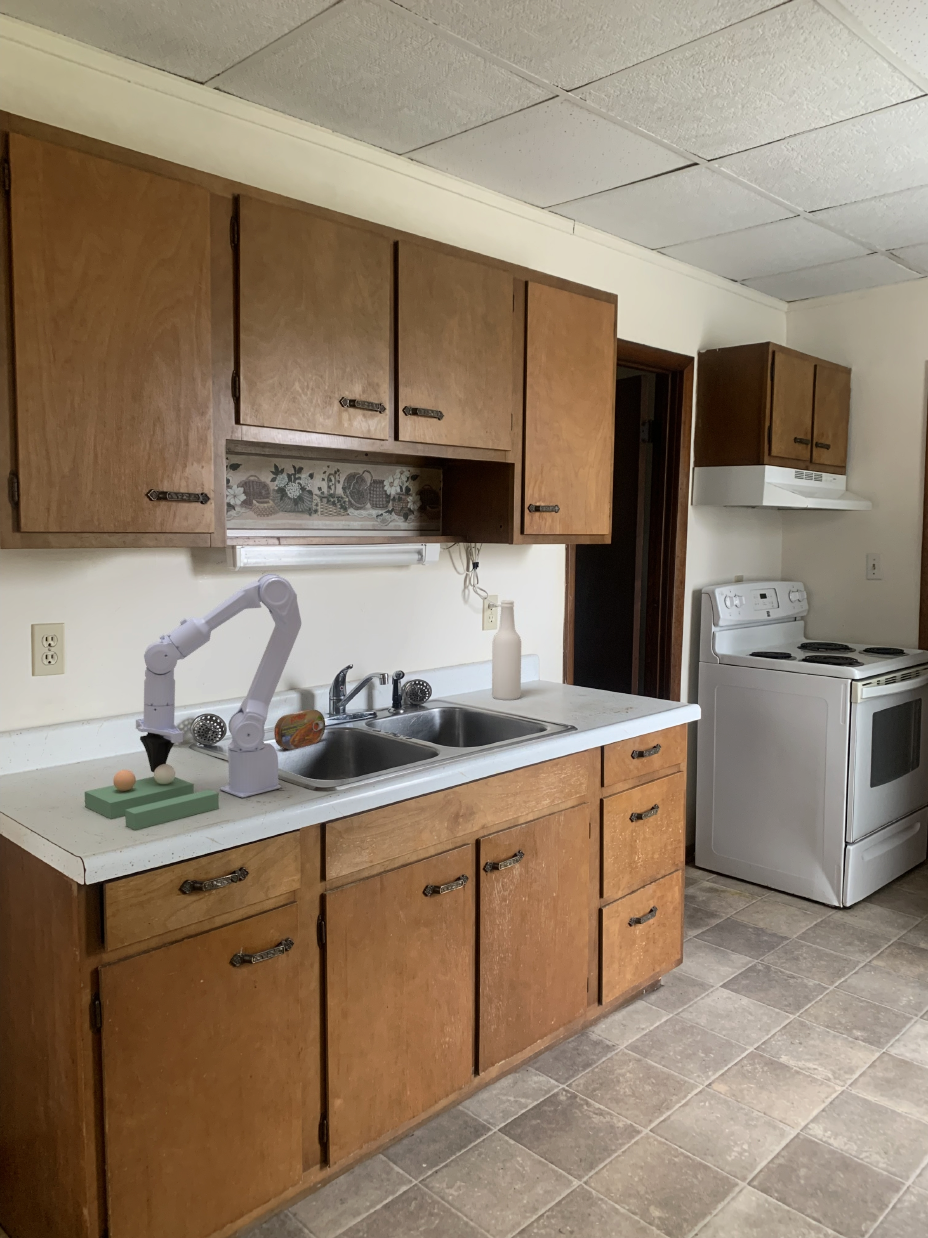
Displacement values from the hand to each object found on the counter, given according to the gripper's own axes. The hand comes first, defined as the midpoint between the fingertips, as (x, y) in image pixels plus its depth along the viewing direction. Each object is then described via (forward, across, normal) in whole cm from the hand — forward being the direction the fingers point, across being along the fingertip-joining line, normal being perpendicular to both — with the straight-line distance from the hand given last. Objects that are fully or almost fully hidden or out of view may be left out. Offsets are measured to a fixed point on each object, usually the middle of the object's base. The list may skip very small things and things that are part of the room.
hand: (157, 771), depth 182 cm
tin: (+4, -14, +45) cm, 47 cm away
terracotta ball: (0, 0, -7) cm, 7 cm away
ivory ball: (0, +2, 0) cm, 2 cm away
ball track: (+5, +4, -4) cm, 8 cm away
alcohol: (+1, -17, +126) cm, 127 cm away
